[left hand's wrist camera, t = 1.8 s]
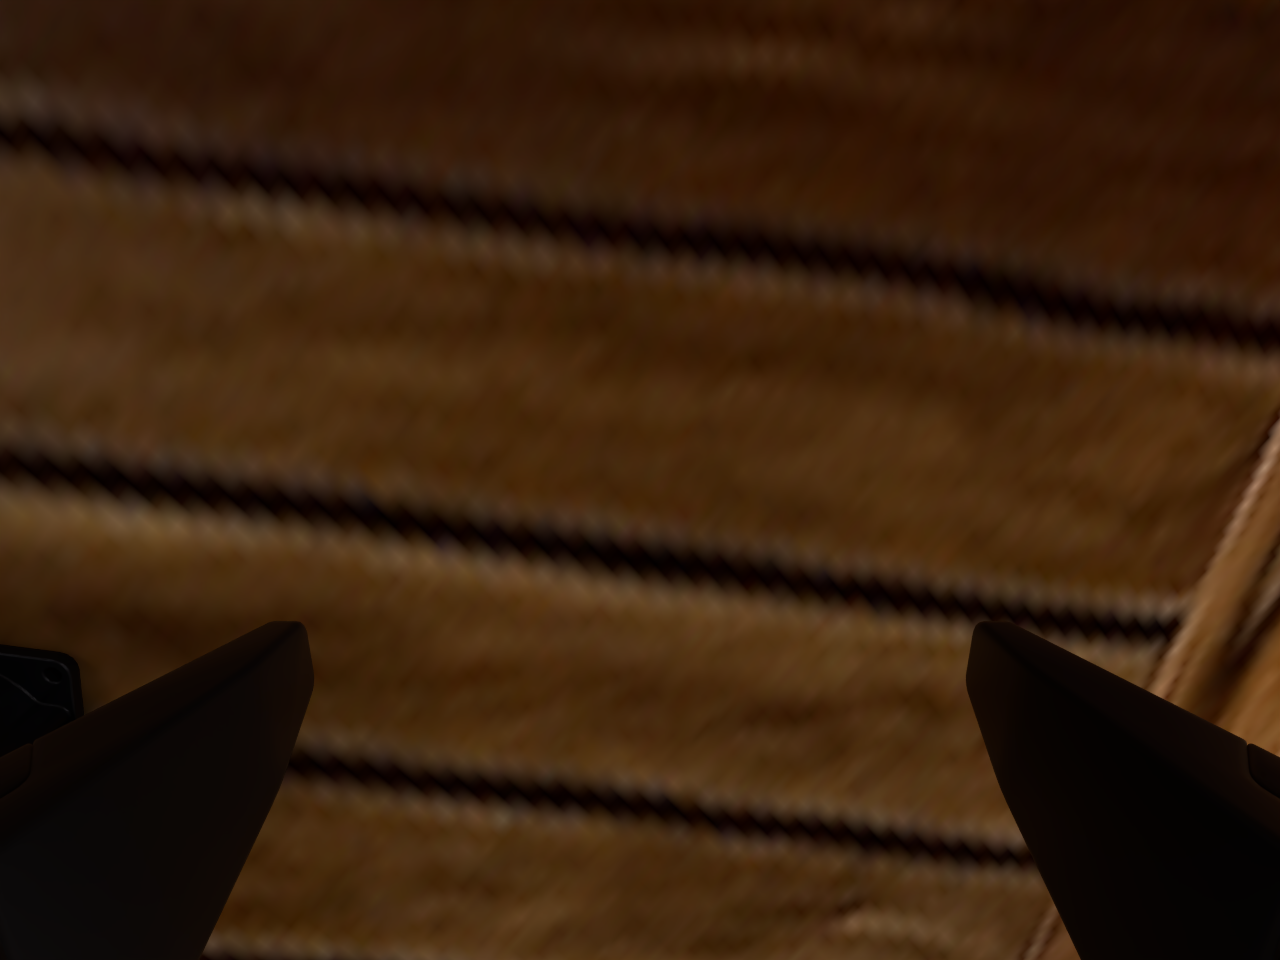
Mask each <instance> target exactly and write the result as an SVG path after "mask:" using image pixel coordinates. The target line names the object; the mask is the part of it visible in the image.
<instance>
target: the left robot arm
mask: <svg viewBox="0 0 1280 960" xmlns="http://www.w3.org/2000/svg"><path fill="white" fill-rule="evenodd" d="M53 668H55V669H57V670H58V671H59V672H60V673H61V674H59V673H57V672H56V671H55V670H54V669H53ZM313 686H314V672H313V666H312V660H311V654H310V648H309V642H308V636H307V631H306V629H305V627H304V625H303V624H302V623H301V622H297V621H274V622H269V623H267V624H265V625H263V626H261V627H259V628H257V629H255V630H253V631H251V632H249V633H247V634H245V635H243V636H241V637H239V638H237V639H235V640H233V641H231V642H229V643H227V644H225V645H223V646H221V647H219V648H217V649H215V650H213V651H211V652H209V653H207V654H205V655H203V656H201V657H199V658H197V659H195V660H193V661H191V662H189V663H187V664H185V665H183V666H181V667H179V668H177V669H176V670H174V671H172V672H170V673H168V674H166V675H164V676H162V677H160V678H158V679H156V680H154V681H152V682H150V683H148V684H146V685H144V686H142V687H140V688H138V689H136V690H134V691H132V692H130V693H128V694H126V695H124V696H122V697H120V698H118V699H116V700H114V701H112V702H110V703H108V704H106V705H104V706H102V707H100V708H98V709H96V710H94V711H92V712H90V713H88V714H86V715H84V710H83V700H82V690H81V680H80V671H79V667H78V664H77V662H76V661H75V660H74V659H73V658H72V657H70V656H69V655H67V654H64V653H61V652H55V651H47V650H39V649H31V648H24V647H16V646H8V645H1V644H0V960H199V959H200V957H201V954H202V952H203V950H204V948H205V946H206V944H207V942H208V940H209V937H210V935H211V933H212V931H213V929H214V927H215V925H216V923H217V921H218V918H219V916H220V914H221V912H222V910H223V908H224V906H225V904H226V902H227V899H228V897H229V895H230V893H231V891H232V889H233V887H234V885H235V882H236V880H237V878H238V876H239V874H240V872H241V870H242V868H243V866H244V863H245V861H246V859H247V857H248V855H249V853H250V851H251V849H252V847H253V844H254V842H255V840H256V838H257V836H258V834H259V832H260V830H261V827H262V825H263V823H264V821H265V819H266V817H267V815H268V813H269V811H270V808H271V806H272V804H273V802H274V800H275V797H276V795H277V793H278V791H279V788H280V786H281V783H282V780H283V777H284V775H285V772H286V769H287V766H288V763H289V760H290V757H291V754H292V751H293V748H294V745H295V742H296V739H297V736H298V733H299V730H300V727H301V724H302V721H303V718H304V715H305V712H306V709H307V706H308V703H309V700H310V697H311V694H312V691H313ZM966 686H967V691H968V694H969V697H970V700H971V703H972V706H973V709H974V712H975V715H976V718H977V721H978V724H979V727H980V730H981V733H982V736H983V739H984V742H985V745H986V748H987V751H988V754H989V757H990V760H991V763H992V766H993V769H994V772H995V775H996V777H997V780H998V783H999V786H1000V788H1001V791H1002V793H1003V795H1004V797H1005V800H1006V802H1007V804H1008V806H1009V808H1010V811H1011V813H1012V815H1013V817H1014V819H1015V821H1016V823H1017V825H1018V827H1019V830H1020V832H1021V834H1022V836H1023V838H1024V840H1025V842H1026V844H1027V847H1028V849H1029V851H1030V853H1031V855H1032V857H1033V859H1034V861H1035V863H1036V866H1037V868H1038V870H1039V872H1040V874H1041V876H1042V878H1043V880H1044V882H1045V885H1046V887H1047V889H1048V891H1049V893H1050V895H1051V897H1052V899H1053V902H1054V904H1055V906H1056V908H1057V910H1058V912H1059V914H1060V916H1061V918H1062V921H1063V923H1064V925H1065V927H1066V929H1067V931H1068V933H1069V935H1070V937H1071V940H1072V942H1073V944H1074V946H1075V948H1076V950H1077V952H1078V954H1079V957H1080V959H1081V960H1280V757H1278V756H1276V755H1274V754H1272V753H1270V752H1268V751H1266V750H1264V749H1262V748H1260V747H1258V746H1256V745H1254V744H1248V745H1247V743H1246V741H1245V740H1244V739H1242V738H1240V737H1238V736H1236V735H1234V734H1232V733H1230V732H1228V731H1226V730H1224V729H1222V728H1220V727H1218V726H1216V725H1214V724H1212V723H1210V722H1208V721H1206V720H1204V719H1202V718H1200V717H1198V716H1196V715H1194V714H1192V713H1190V712H1188V711H1186V710H1184V709H1182V708H1180V707H1178V706H1176V705H1174V704H1172V703H1170V702H1168V701H1166V700H1164V699H1162V698H1160V697H1158V696H1156V695H1154V694H1152V693H1150V692H1148V691H1146V690H1144V689H1142V688H1140V687H1138V686H1136V685H1134V684H1132V683H1130V682H1128V681H1126V680H1124V679H1122V678H1120V677H1118V676H1116V675H1114V674H1112V673H1110V672H1108V671H1106V670H1104V669H1103V668H1101V667H1099V666H1097V665H1095V664H1093V663H1091V662H1089V661H1087V660H1085V659H1083V658H1081V657H1079V656H1077V655H1075V654H1073V653H1071V652H1069V651H1067V650H1065V649H1063V648H1061V647H1059V646H1057V645H1055V644H1053V643H1051V642H1049V641H1047V640H1045V639H1043V638H1041V637H1039V636H1037V635H1035V634H1033V633H1031V632H1029V631H1027V630H1025V629H1023V628H1021V627H1019V626H1017V625H1015V624H1013V623H1011V622H1006V621H983V622H979V623H978V624H977V625H976V627H975V629H974V631H973V636H972V642H971V648H970V654H969V660H968V666H967V672H966Z"/></svg>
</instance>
